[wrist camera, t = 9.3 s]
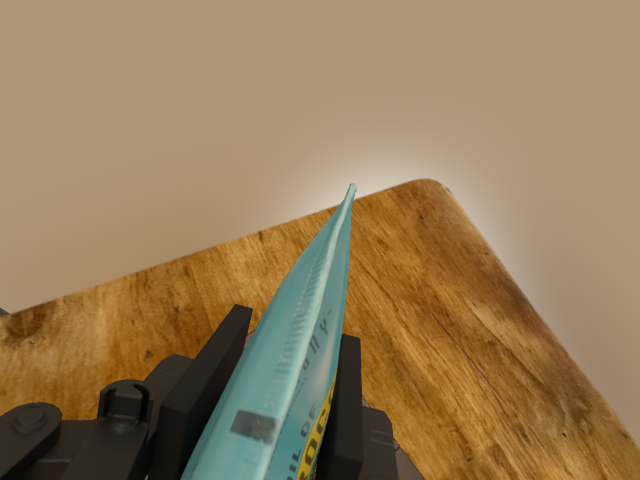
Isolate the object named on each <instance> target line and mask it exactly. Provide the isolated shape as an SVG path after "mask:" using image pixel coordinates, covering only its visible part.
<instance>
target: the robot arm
mask: <svg viewBox="0 0 640 480" xmlns="http://www.w3.org/2000/svg"><path fill="white" fill-rule="evenodd" d="M252 311H253V309H252V308H248V307H245V306H241V305H238V304H235V305H234V307H233V308H232V309H231V311H230V312H229V313H228V315H227V316H226V317H225V319H224V320H223V322H222V323H221V324H220V326H219V327H218V328H217V330H216V331H215V332H214V334H213V335H212V336H211V338H210V339H209V340H208V342H207V343H206V344H205V346H204V347H203V348H202V350H201V351H200V352H199V354H198V355H197V356H196V358H195V359H191V358H187V357H184V356H180V355H177V354H174V355H172V356H170V357H168V358H165V359H163V360H162V361H161V362H160V363H159V364H158V365H157V366H156V367H155V369H154V370H153V371H152V372H151V373H150V374H149V375H148V376H147V378H146V379H145V380H144V381H139V380H127V379H126V380H121V381H116V382H114V383H112V384H110V385H107V386H106V387H105V388H104V389H103V390H102V391H101V392H100V399H99V407H98V414H97V419H94V420H84V421H80V420H62V413H61V411H60V409H59V408H58V407H56V406H54V405H52V404H48V403H42V402H39V403H28V404H25V405H21V406H18V407H15V408H14V409H12V410H10V411H8V412H6V413H5V414H3V415H2V416H1V417H0V480H145V478H146V477H147V475H148V478H147V480H180V479H181V477H182V475H183V472H184V470H185V468H186V466H187V464H188V461H189V459H190V457H191V455H192V453H193V451H194V448H195V446H196V444H197V442H198V440H199V438H200V436H201V434H202V433H203V431H204V429H205V427H206V425H207V423H208V421H209V419H210V417H211V415H212V413H213V411H214V409H215V407H216V405H217V403H218V401H219V399H220V397H221V395H222V393H223V391H224V389H225V387H226V385H227V383H228V381H229V379H230V377H231V375H232V373H233V371H234V369H235V367H236V366H237V364H238V362H239V360H240V358H241V356H242V354H243V350H244V346H245V341H246V337H247V333H248V328H249V324H250V320H251V315H252ZM315 480H399V476H398V468H397V461H396V453H395V448H394V438H393V430H392V423H391V422H390V420H389V418H388V417H387V415H386V413H385V412H384V411H381V410H377V409H374V408H370V407H366V406H363V405H362V383H361V346H360V338H357V337H353V336H350V335H346V334H342V337H341V341H340V349H339V357H338V365H337V373H336V379H335V386H334V391H333V396H332V401H331V406H330V411H329V415H328V420H327V424H326V428H325V432H324V436H323V440H322V443H321V447H320V451H319V455H318V460H317V469H316V477H315Z"/></svg>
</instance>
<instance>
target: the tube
mask: <svg viewBox="0 0 640 480" xmlns="http://www.w3.org/2000/svg"><path fill="white" fill-rule="evenodd" d="M355 192H356V185H355V184H353V183H352V184H350V186H349V189H348V192H347V194H346V196H345V199H344V200H343V202H342V203H341V204H340V205H339V207H338V208H337V209H336V211H335V212H334V213H333V214H332V216H331V217H330V218H329V220H328V221H327V222H326V223H325V225H324V226H323V227H322V229H321V230H320V231H319V232H318V234H317V235H316V236H315V238H314V239H313V240H312V241H311V243H310V244H309V245H308V247H307V248H306V249H305V250H304V252H303V253H302V254H301V256H300V257H299V258H298V260H297V261H296V263H295V264H294V266H293V267H292V269H291V270H290V272H289V273H288V275H287V276H286V278H285V279H284V280H283V282H282V284H281V285H280V287H279V289H278V290H277V292H276V294H275V295H274V297H273V299H272V300H271V302H270V304H269V305H268V307H267V309H266V311H265V313H264V314H263V316H262V318H261V320H260V322H259V324H258V326H257V327H256V329H255V331H254V333H253V335H252V337H251V338H250V340H249V342H248V344H247V346H246V348H245V350H244V352H243V354H242V356H241V358H240V360H239V362H238V364H237V366H236V367H235V369H234V371H233V373H232V375H231V377H230V379H229V381H228V383H227V385H226V387H225V389H224V391H223V393H222V395H221V397H220V399H219V401H218V403H217V405H216V407H215V409H214V411H213V413H212V415H211V417H210V419H209V421H208V423H207V425H206V427H205V429H204V431H203V433H202V434H201V436H200V438H199V440H198V442H197V444H196V446H195V448H194V451H193V453H192V455H191V457H190V459H189V461H188V464H187V466H186V468H185V470H184V472H183V475H182V477H181V479H180V480H311V479H312V476H313V472H314V469H315V466H316V462H317V459H318V455H319V451H320V447H321V443H322V440H323V436H324V432H325V428H326V424H327V420H328V415H329V411H330V406H331V401H332V396H333V391H334V386H335V379H336V373H337V365H338V357H339V349H340V341H341V333H342V326H343V318H344V309H345V299H346V289H347V279H348V268H349V251H350V230H351V210H352V203H353V199H354V196H355Z"/></svg>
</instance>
